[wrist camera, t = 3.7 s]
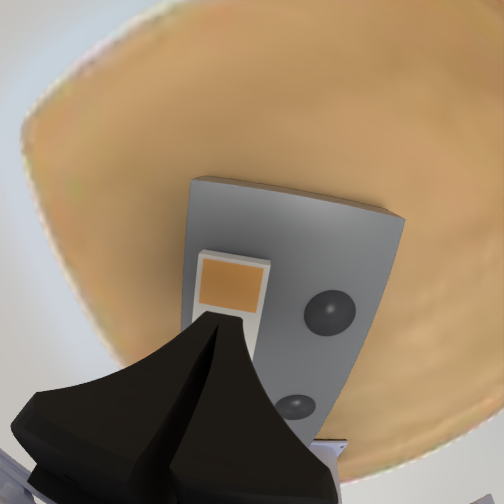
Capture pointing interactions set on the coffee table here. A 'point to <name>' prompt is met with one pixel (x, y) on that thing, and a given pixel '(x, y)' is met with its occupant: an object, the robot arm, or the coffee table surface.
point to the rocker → (232, 289)
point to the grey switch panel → (298, 283)
